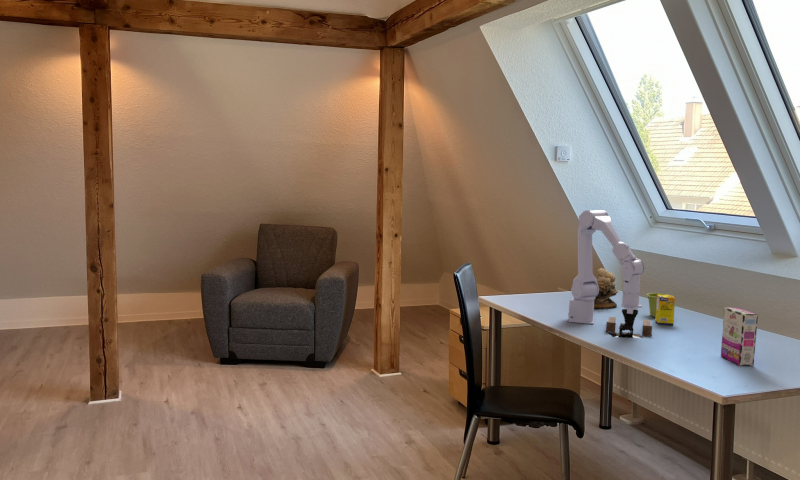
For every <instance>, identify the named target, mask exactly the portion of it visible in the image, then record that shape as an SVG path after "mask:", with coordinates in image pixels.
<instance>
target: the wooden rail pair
mask: <svg viewBox="0 0 800 480" xmlns="http://www.w3.org/2000/svg"><path fill="white" fill-rule="evenodd" d="M642 323H643V324H642V330H641V331H642V332H641V336H648V337H652V334H653V325H652V324H651V320H649V319H643V321H642ZM616 324H617V323H616V317H615V316H608V320H607V321H606V325H605V327H606V328H605V332H606V333H616V327H617V326H616Z"/></svg>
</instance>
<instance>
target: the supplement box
mask: <svg viewBox="0 0 800 480" xmlns="http://www.w3.org/2000/svg"><path fill="white" fill-rule="evenodd" d="M675 304H676V297H674V295H670V294H668V295H657V302H656V317H655V319H654V322H655V323H656V324H657V325H660V326H661V325H663V326H674V320H675V319H674V318H675Z"/></svg>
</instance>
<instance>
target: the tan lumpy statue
mask: <svg viewBox="0 0 800 480" xmlns="http://www.w3.org/2000/svg"><path fill="white" fill-rule="evenodd" d="M597 276H598V277H596V279H597V284H598V287H599V293H598V295H597V296H596V298H595V299H594V310H610V309H615V308H617V306H618V305H617V303H616V302H615V301H614V300H613V299H611V297H615V296H616V295H617V294H618V293H619V291H618V289H617V288H616V287H615V286H616V282H615V281H616V277H615V276H616V275H615V274H614V273H613V272H610V271H608V270H607V269H605V268H603V267H600V268H598V269H597Z"/></svg>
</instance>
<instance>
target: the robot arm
mask: <svg viewBox="0 0 800 480" xmlns="http://www.w3.org/2000/svg"><path fill="white" fill-rule="evenodd" d="M596 231H600V232H601V233H602V234H603V235H604V237H605V238H606V239H607V241H608V242H609V243H610V245H611V246H612V250H611V251H612V253H613V255H614V256H615V258H616V260H617V261H618V262H619V264H620V265H621V266H620V272H621V274H622V280H623V285H622V299H621V300H622V301H621V307H623V308H622V309H621V314H622V316H623V318H624V323H625V324H631V325H633V326H634V323H635V320H636V318H637V315H638V314H639V310H638V309H639V308H640V309H642V307H643V305H642V304H640V291H641V288H640V287H641V275H642V274H644V272H645V264H644V262H643V261H642V260H641V259H640V258H637V257H636V255H634V254H633V251H632V250H631V248H630V246H629V245H630V244H627V243H626V242H623V241H622V240H621V239H620V237H619V235H618V233H617V231H616V229H615V228H614V225H613V224H612V218H611V216H610V215H609V213H608V211H606V210H604V209H601V210H584V211H583V212H581V213H580V214H579V215H578V227H577V275H576V276H575V277H574V278H573V279H572V285H571V289H570V290H571V291H570V293H571V295H572V297H573V298H570V299H569V305H568V307H569V308H568V315H567V316H568V323H578V324H587V325H588V324H589V325H594V323H595V320H596V319H595V318H594V312H595V311H594V310H595V309H594V299H595V298H596V296H597V295H598V293H599V287H598V284H597V279H598V278H597V277H596V276H595V275H594V273H593V272H594V269H593V268H594V266H593V235H594V233H595V232H596ZM596 278H597V279H596Z"/></svg>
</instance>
